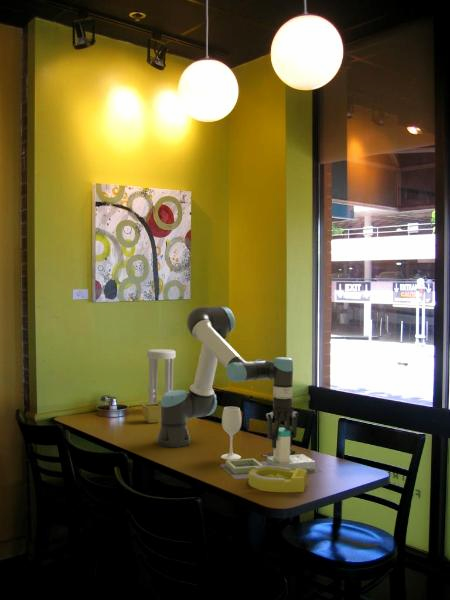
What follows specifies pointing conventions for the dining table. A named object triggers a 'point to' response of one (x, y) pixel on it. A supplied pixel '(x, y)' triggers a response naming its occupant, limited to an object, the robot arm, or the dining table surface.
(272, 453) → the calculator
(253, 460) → the grey square tray
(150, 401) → the stool
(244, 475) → the mat
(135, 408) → the dining table surface
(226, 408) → the wineglass
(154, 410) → the flower pot
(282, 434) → the cream green box
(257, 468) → the ashtray
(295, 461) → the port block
